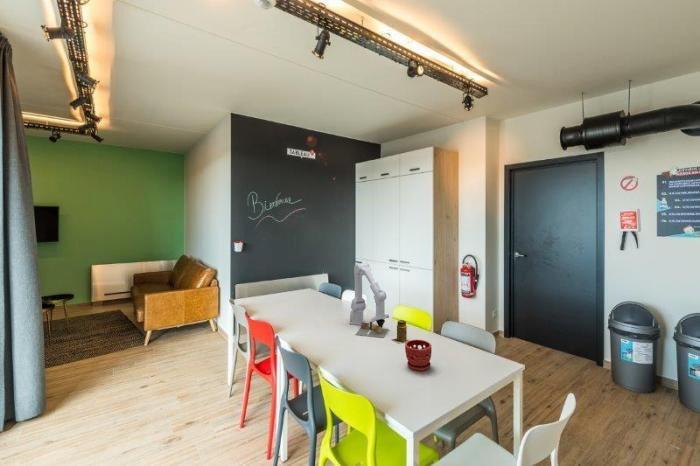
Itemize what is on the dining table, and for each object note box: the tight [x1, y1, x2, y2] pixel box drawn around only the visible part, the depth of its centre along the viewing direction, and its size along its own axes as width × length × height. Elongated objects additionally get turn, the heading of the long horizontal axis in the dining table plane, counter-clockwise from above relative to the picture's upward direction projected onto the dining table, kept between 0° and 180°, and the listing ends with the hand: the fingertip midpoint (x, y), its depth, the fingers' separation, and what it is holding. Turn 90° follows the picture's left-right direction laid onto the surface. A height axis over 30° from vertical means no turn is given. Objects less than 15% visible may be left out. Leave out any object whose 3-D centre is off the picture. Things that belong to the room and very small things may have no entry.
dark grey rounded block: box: [360, 320, 373, 330], centre depth 219 cm, size 8×2×5 cm, turn 72°
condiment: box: [391, 319, 410, 344], centre depth 199 cm, size 7×8×12 cm
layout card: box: [355, 326, 389, 339], centre depth 214 cm, size 19×17×1 cm
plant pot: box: [404, 339, 433, 372], centre depth 164 cm, size 13×13×12 cm
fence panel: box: [372, 323, 383, 334], centre depth 214 cm, size 9×1×4 cm, turn 37°
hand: (380, 330), depth 213 cm, fingers closed
